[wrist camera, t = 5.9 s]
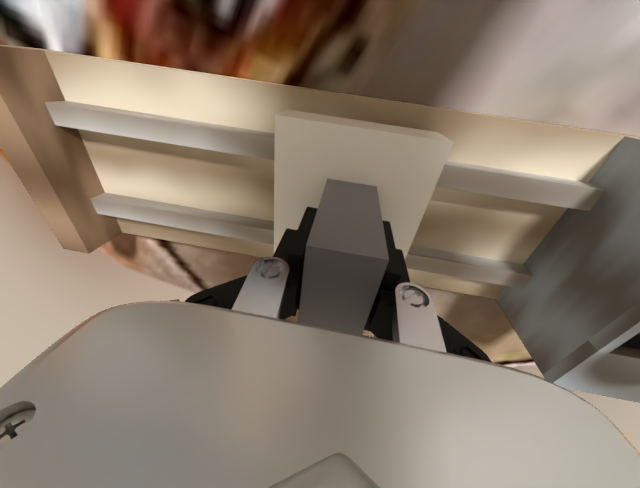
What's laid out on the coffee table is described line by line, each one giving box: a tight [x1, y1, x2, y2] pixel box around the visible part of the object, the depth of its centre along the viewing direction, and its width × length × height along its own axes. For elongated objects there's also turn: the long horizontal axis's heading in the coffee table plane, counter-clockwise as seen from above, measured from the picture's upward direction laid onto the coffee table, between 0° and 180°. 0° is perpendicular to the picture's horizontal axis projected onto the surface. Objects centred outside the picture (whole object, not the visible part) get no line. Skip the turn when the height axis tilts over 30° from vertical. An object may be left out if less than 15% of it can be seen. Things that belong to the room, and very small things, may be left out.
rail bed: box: [0, 45, 640, 403], centre depth 14 cm, size 12×39×8 cm, turn 83°
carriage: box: [274, 110, 454, 335], centre depth 12 cm, size 10×8×8 cm
